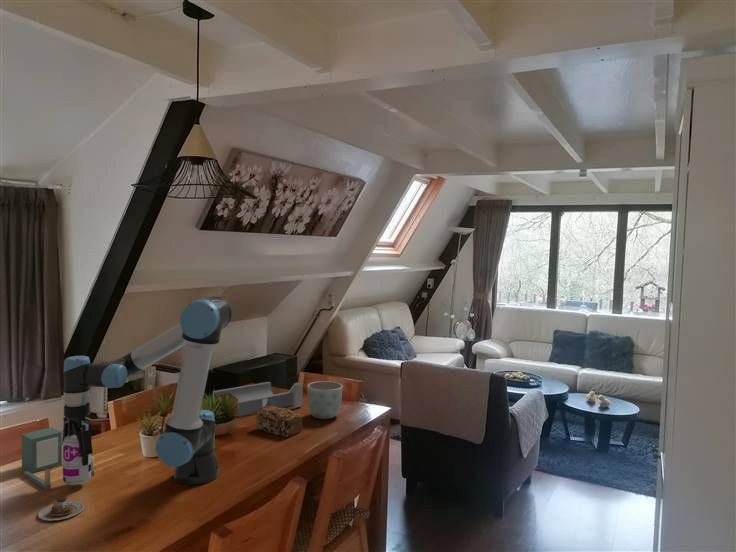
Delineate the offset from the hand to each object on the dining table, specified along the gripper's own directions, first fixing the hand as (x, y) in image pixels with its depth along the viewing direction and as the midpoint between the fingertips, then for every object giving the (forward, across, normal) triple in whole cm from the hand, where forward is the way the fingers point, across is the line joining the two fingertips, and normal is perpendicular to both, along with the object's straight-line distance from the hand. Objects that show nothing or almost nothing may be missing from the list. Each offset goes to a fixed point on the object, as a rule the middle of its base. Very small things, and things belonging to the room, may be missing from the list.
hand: (77, 470), depth 179 cm
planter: (+6, -13, -110) cm, 111 cm away
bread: (+6, -11, -82) cm, 83 cm away
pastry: (+6, -14, +12) cm, 19 cm away
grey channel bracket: (+6, +24, -100) cm, 103 cm away
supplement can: (+3, 0, 0) cm, 3 cm away
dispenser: (+5, +17, 0) cm, 18 cm away
